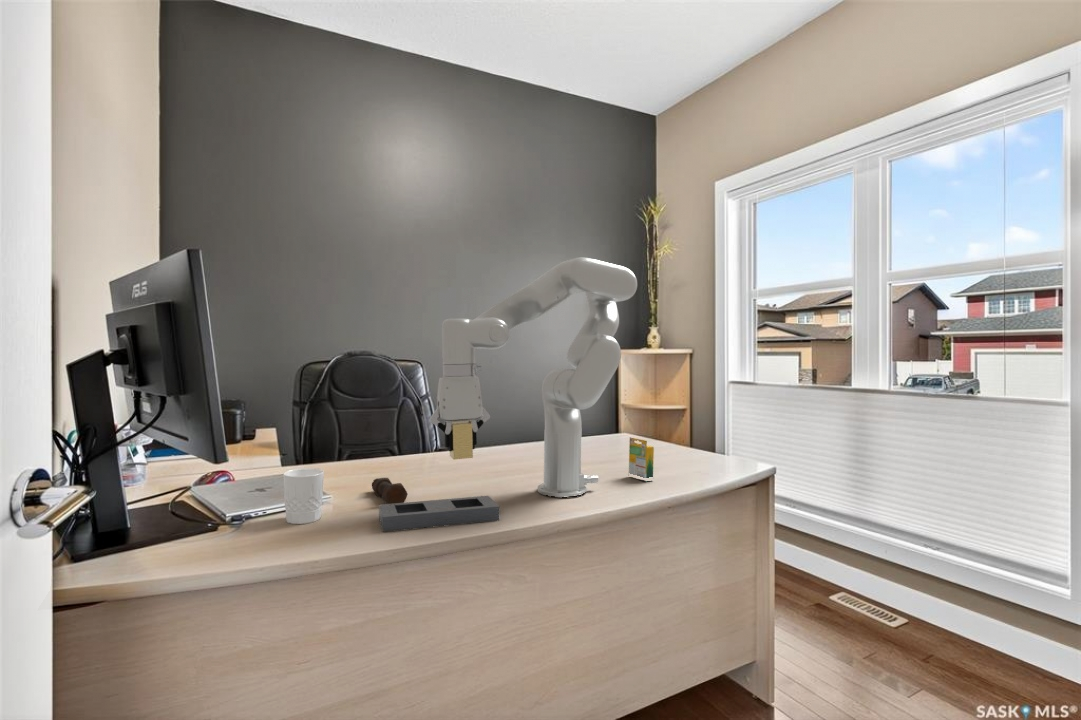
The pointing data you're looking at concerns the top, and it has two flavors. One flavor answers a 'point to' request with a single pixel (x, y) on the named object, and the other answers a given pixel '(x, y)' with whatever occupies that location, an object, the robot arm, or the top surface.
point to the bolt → (389, 491)
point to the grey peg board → (437, 513)
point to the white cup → (303, 495)
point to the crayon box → (641, 458)
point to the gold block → (462, 440)
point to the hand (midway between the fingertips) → (460, 448)
